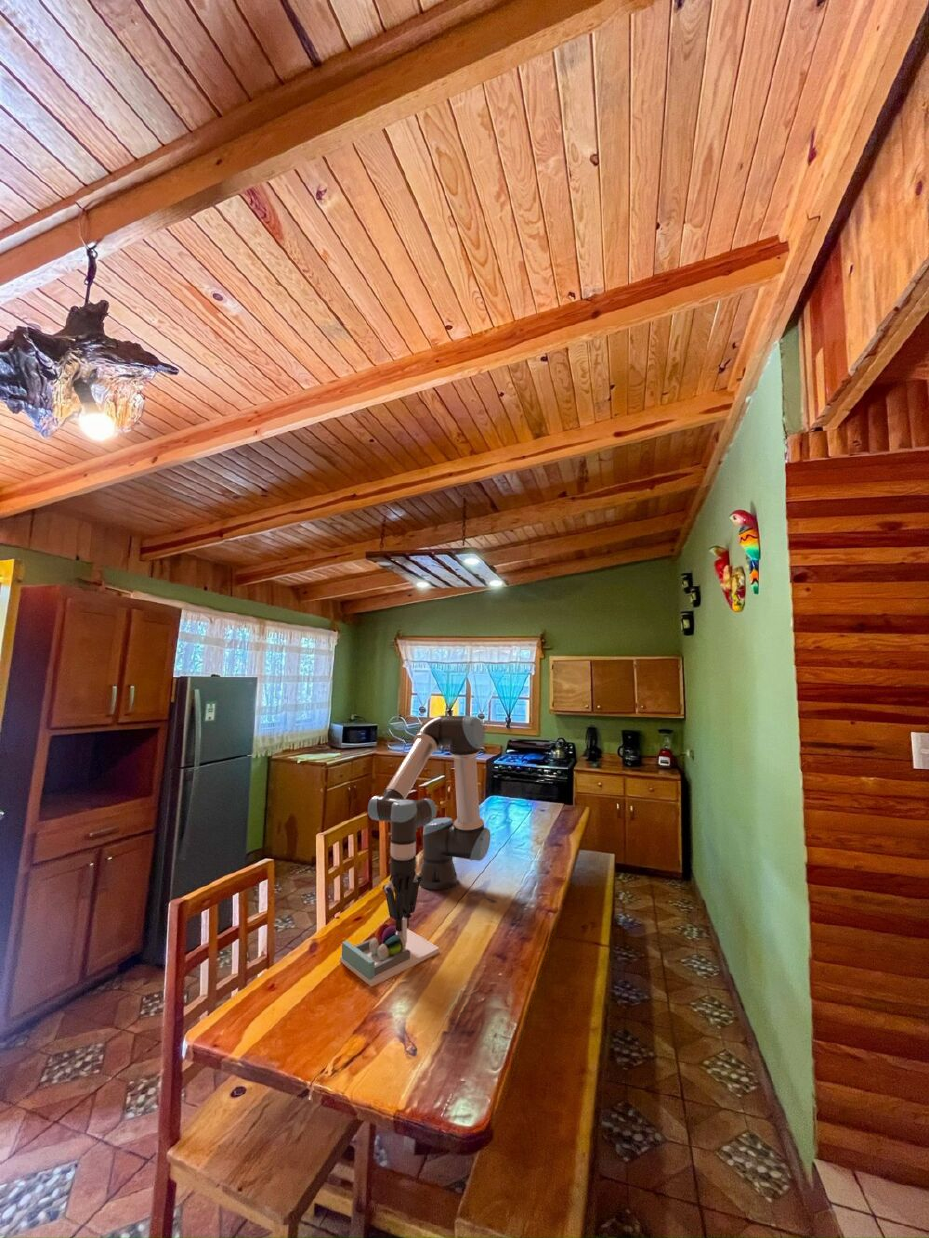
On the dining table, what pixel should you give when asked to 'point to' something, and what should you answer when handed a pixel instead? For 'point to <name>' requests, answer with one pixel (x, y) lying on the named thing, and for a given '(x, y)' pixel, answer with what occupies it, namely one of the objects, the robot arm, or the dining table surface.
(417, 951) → the board
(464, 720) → the robot arm
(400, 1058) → the dining table surface
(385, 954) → the multicolored rounded lobe cluster
